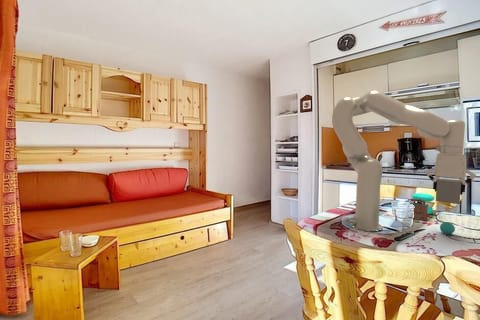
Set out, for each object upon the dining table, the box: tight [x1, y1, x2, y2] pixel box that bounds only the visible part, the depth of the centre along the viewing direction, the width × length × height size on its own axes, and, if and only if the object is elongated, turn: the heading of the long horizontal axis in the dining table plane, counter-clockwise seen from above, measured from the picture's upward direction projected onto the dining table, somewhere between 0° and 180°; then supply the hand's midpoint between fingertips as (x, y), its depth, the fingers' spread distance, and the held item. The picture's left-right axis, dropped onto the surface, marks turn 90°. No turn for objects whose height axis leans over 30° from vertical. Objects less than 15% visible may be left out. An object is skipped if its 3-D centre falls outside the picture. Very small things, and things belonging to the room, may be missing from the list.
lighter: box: [409, 197, 429, 221], centre depth 134 cm, size 8×3×10 cm, turn 58°
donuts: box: [411, 192, 435, 215], centre depth 146 cm, size 10×10×10 cm
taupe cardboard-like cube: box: [435, 177, 462, 205], centre depth 111 cm, size 8×8×9 cm
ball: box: [439, 221, 456, 235], centre depth 112 cm, size 5×5×5 cm
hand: (448, 192), depth 111 cm, fingers closed on taupe cardboard-like cube, 7 cm apart
